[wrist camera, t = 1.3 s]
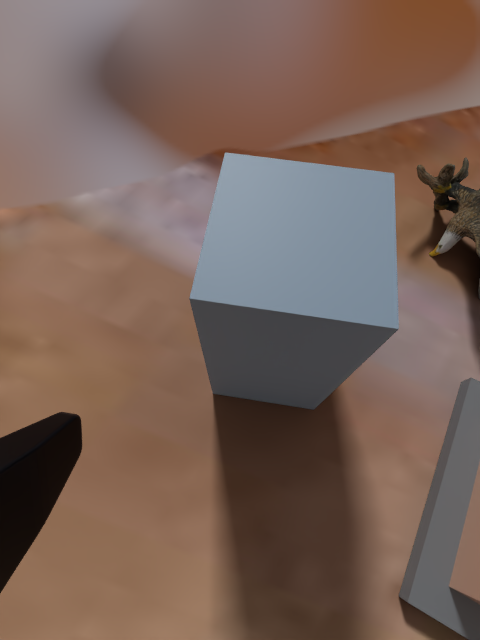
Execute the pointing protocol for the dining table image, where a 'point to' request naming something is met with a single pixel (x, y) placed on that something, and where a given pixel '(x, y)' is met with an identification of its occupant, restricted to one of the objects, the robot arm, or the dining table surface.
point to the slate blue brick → (295, 278)
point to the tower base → (451, 527)
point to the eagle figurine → (455, 206)
